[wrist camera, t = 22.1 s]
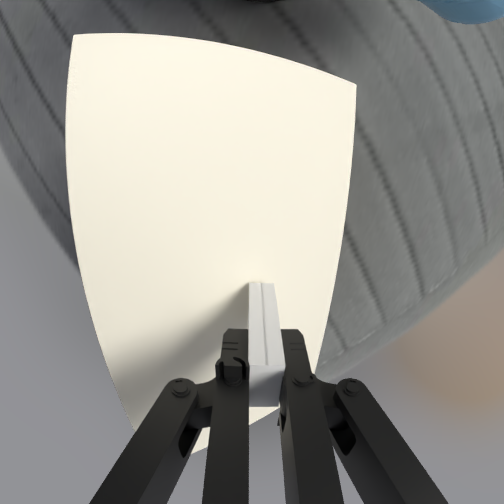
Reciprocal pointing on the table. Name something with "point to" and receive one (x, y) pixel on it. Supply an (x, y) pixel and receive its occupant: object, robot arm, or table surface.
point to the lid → (200, 199)
